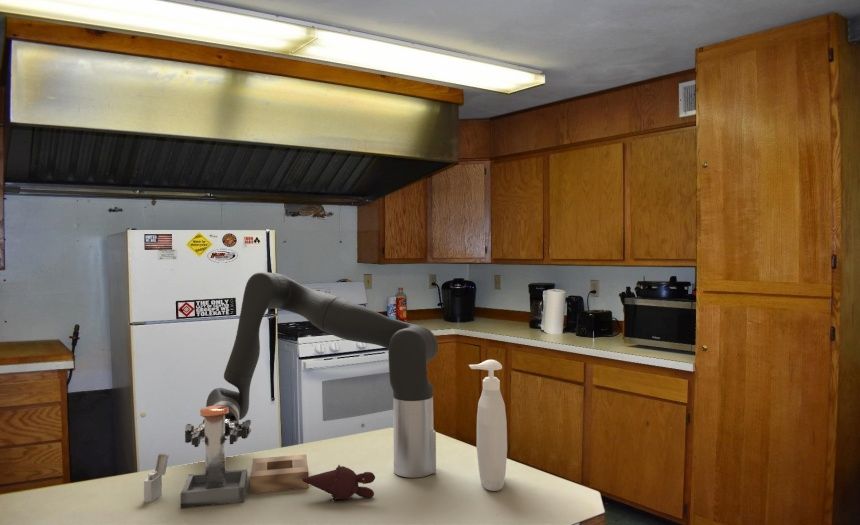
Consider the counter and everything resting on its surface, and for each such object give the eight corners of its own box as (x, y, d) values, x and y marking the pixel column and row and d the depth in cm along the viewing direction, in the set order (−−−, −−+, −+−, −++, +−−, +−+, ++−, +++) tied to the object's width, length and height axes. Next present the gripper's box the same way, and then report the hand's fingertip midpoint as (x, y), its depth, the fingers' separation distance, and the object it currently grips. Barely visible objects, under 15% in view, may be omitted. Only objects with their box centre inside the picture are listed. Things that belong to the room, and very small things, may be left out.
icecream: (297, 475, 120) (372, 482, 119) (307, 454, 127) (378, 460, 127) (297, 505, 122) (371, 512, 121) (306, 483, 129) (376, 489, 128)
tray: (247, 482, 133) (247, 469, 133) (244, 502, 123) (244, 487, 123) (189, 488, 131) (189, 474, 131) (180, 508, 120) (180, 493, 120)
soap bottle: (468, 472, 139) (467, 354, 139) (503, 472, 139) (502, 354, 139) (472, 497, 124) (470, 365, 124) (511, 496, 124) (510, 365, 124)
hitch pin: (231, 483, 130) (229, 404, 130) (228, 493, 125) (227, 411, 124) (203, 486, 129) (201, 406, 129) (199, 496, 123) (198, 413, 123)
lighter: (151, 502, 123) (151, 463, 123) (143, 502, 123) (143, 462, 123) (169, 489, 130) (168, 452, 130) (161, 489, 130) (161, 451, 130)
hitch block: (306, 469, 142) (306, 454, 142) (308, 487, 130) (308, 471, 130) (253, 473, 139) (252, 458, 139) (250, 493, 127) (250, 476, 127)
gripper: (188, 406, 139) (176, 425, 123) (253, 402, 142) (250, 420, 126) (188, 438, 139) (176, 462, 123) (254, 434, 142) (250, 456, 126)
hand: (214, 440), depth 124 cm, fingers open, 6 cm apart
